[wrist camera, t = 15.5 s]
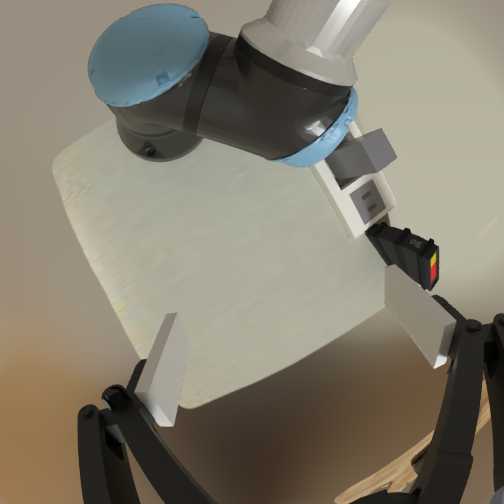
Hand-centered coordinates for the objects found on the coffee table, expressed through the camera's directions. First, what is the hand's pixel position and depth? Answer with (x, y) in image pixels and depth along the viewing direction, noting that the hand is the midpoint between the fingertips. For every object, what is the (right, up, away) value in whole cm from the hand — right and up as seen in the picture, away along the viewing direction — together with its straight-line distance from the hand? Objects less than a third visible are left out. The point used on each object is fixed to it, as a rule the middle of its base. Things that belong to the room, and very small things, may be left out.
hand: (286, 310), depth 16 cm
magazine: (+24, +3, +34) cm, 42 cm away
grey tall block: (+14, +20, +29) cm, 38 cm away
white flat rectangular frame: (+15, +17, +30) cm, 38 cm away
